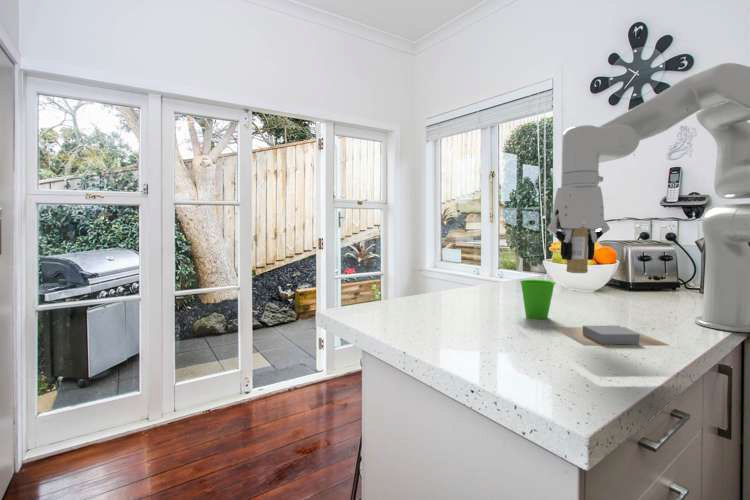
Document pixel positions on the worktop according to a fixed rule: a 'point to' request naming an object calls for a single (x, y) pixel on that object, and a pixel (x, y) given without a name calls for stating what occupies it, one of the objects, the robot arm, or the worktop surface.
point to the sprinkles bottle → (578, 251)
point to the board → (578, 336)
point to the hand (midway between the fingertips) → (577, 258)
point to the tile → (611, 334)
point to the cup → (537, 297)
